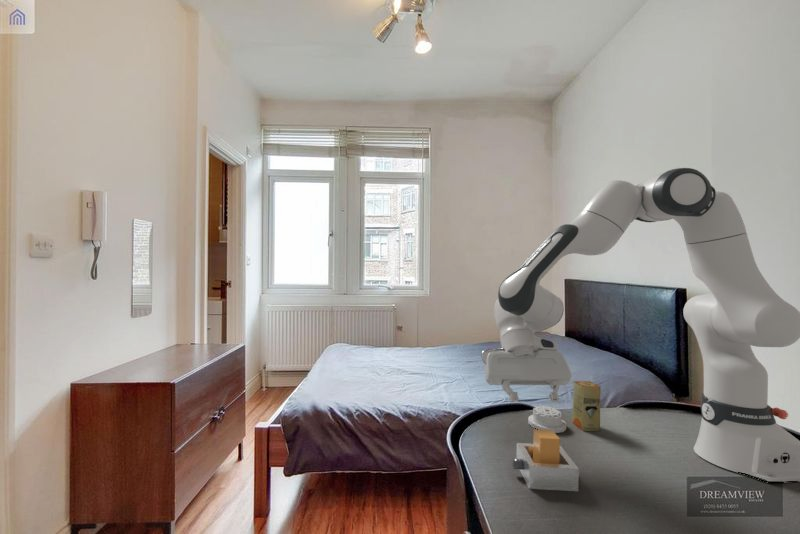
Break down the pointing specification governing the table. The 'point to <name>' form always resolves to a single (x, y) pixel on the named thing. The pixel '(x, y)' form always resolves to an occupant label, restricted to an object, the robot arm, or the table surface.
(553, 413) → the mechanical component
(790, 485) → the table surface
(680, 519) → the table surface
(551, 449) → the plug
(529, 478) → the white shallow box
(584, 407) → the shoe polish box
